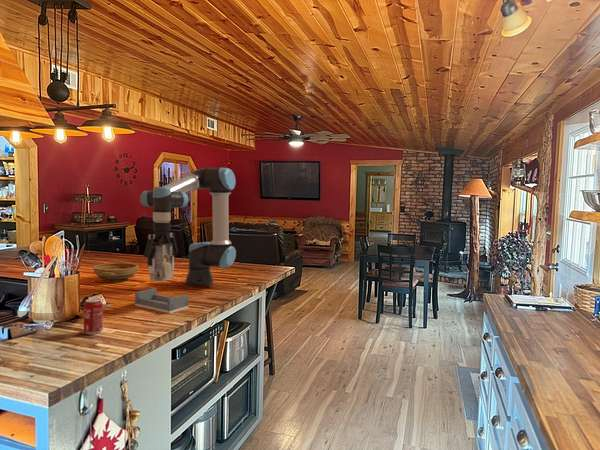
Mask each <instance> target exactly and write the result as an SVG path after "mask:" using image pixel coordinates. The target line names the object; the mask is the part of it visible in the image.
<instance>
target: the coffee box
mask: <svg viewBox="0 0 600 450" xmlns="http://www.w3.org/2000/svg"><path fill="white" fill-rule="evenodd" d="M155 246H156V252H155V254H154V256H153V258H155V273H149V278H150V279H149V281H150V282H160V283H161V282H165V281H168V280H171V279H172V278H174V270H173V243H169V244H168V243H160V245H152V248H154V247H155Z"/></svg>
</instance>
